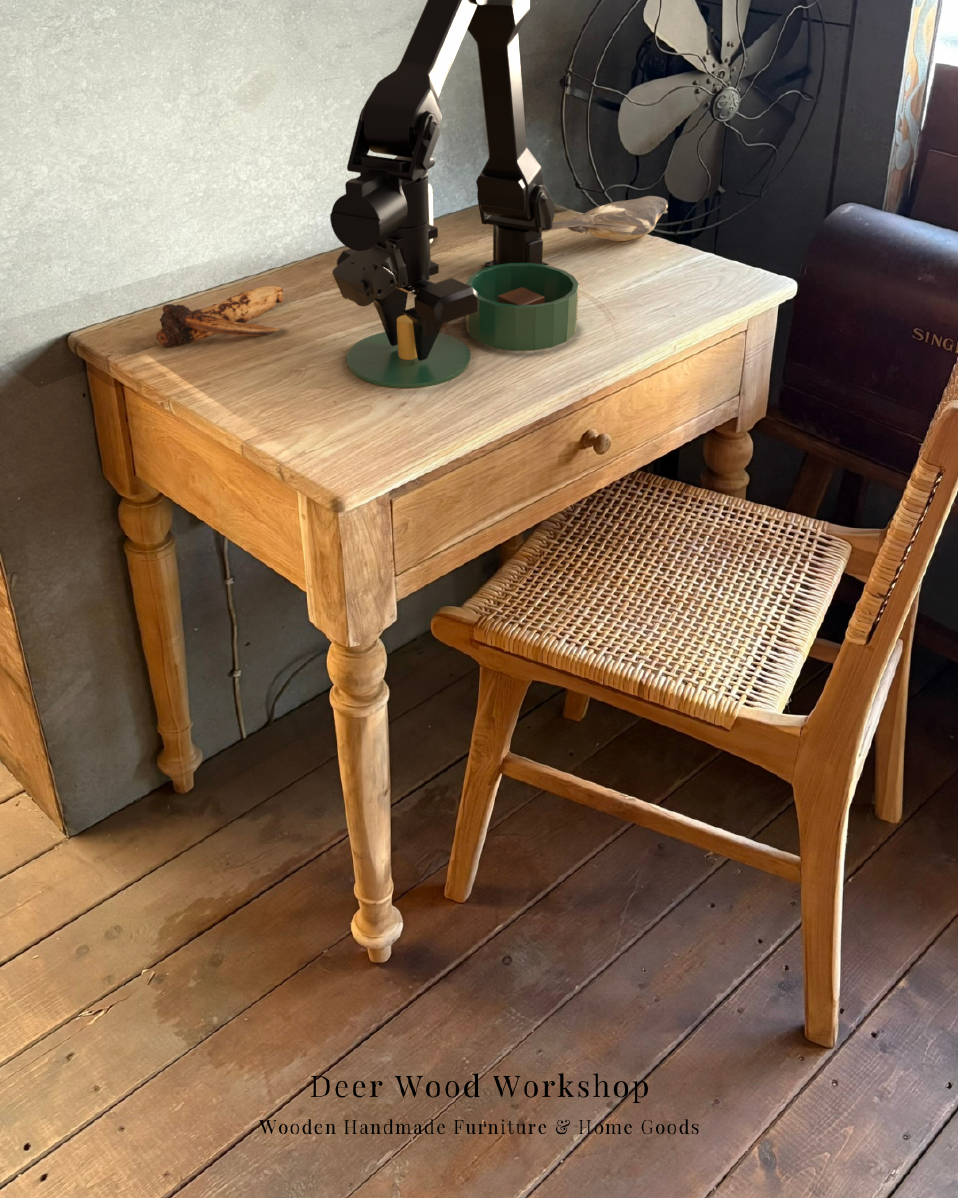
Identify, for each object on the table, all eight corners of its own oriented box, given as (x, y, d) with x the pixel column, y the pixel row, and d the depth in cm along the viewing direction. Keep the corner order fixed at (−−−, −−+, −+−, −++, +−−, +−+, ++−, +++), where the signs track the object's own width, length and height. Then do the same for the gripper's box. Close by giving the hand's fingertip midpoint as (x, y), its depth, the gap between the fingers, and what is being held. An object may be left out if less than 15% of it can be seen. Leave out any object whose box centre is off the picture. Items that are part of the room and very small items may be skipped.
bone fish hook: (190, 371, 139) (313, 322, 148) (184, 334, 136) (310, 287, 145) (147, 343, 144) (269, 298, 153) (140, 307, 141) (265, 263, 150)
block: (497, 326, 146) (497, 295, 144) (521, 317, 148) (522, 286, 146) (519, 336, 144) (520, 305, 141) (543, 327, 146) (544, 296, 143)
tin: (443, 328, 147) (442, 282, 143) (524, 299, 154) (525, 254, 150) (517, 365, 139) (518, 317, 135) (599, 332, 146) (602, 285, 142)
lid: (322, 361, 140) (318, 316, 136) (418, 327, 147) (416, 283, 144) (398, 405, 131) (396, 358, 128) (496, 366, 138) (496, 321, 135)
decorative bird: (684, 232, 173) (688, 197, 170) (553, 271, 161) (554, 234, 158) (654, 219, 177) (657, 185, 174) (523, 256, 165) (524, 221, 162)
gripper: (292, 213, 130) (305, 345, 140) (397, 262, 119) (403, 402, 128) (373, 191, 136) (380, 319, 145) (481, 235, 125) (481, 371, 134)
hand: (408, 352), depth 138 cm, fingers open, 5 cm apart
